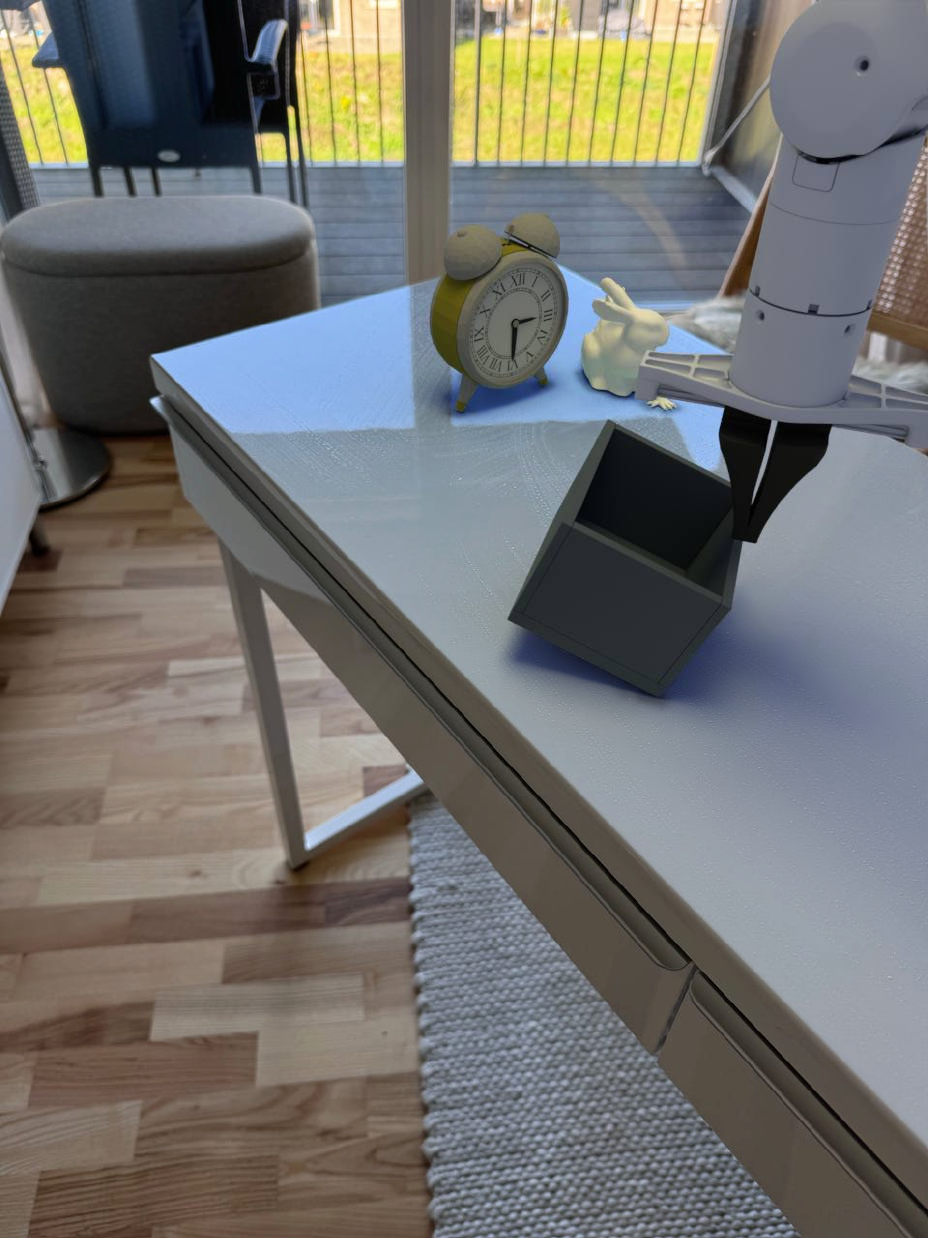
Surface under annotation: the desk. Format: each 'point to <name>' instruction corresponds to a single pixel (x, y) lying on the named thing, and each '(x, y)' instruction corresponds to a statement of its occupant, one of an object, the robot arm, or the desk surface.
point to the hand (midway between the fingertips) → (745, 531)
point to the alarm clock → (499, 304)
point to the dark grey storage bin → (634, 562)
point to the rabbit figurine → (621, 342)
